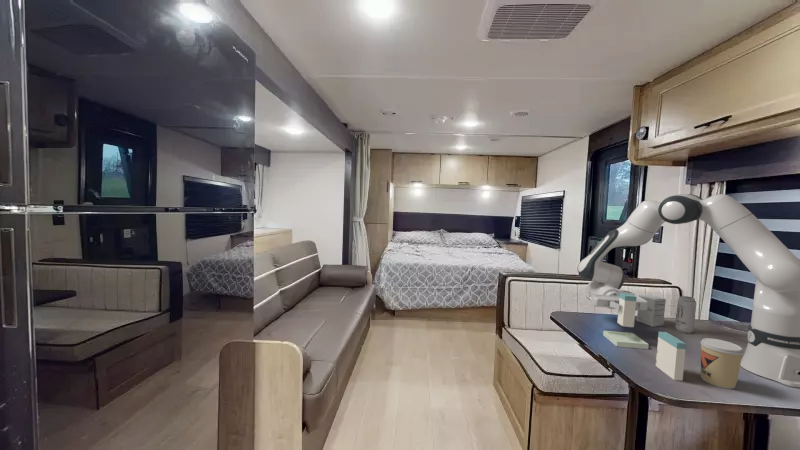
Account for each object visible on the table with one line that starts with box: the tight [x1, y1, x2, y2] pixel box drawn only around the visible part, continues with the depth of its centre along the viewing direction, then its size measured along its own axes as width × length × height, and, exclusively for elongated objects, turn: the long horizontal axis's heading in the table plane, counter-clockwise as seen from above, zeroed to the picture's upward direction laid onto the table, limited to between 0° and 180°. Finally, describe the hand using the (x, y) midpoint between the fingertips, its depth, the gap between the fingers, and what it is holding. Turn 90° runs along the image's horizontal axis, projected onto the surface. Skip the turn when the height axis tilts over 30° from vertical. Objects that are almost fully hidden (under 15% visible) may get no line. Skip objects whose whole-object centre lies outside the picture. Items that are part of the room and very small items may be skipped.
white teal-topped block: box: [616, 293, 637, 328], centre depth 129 cm, size 4×4×12 cm
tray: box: [602, 330, 649, 350], centre depth 130 cm, size 11×11×2 cm
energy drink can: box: [675, 295, 697, 334], centre depth 142 cm, size 6×6×15 cm
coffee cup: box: [700, 337, 744, 390], centre depth 101 cm, size 9×9×12 cm
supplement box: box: [636, 293, 667, 328], centre depth 151 cm, size 7×7×13 cm
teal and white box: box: [655, 331, 687, 382], centre depth 106 cm, size 3×9×12 cm, turn 172°
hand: (628, 308), depth 128 cm, fingers closed on white teal-topped block, 4 cm apart
